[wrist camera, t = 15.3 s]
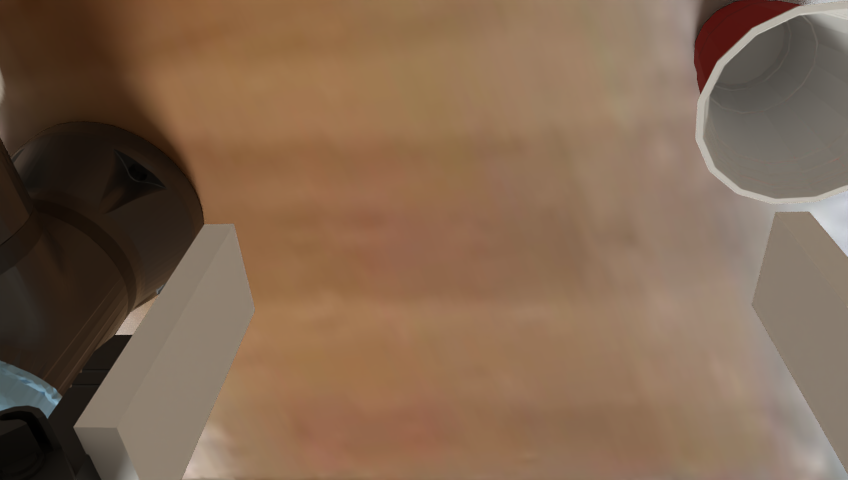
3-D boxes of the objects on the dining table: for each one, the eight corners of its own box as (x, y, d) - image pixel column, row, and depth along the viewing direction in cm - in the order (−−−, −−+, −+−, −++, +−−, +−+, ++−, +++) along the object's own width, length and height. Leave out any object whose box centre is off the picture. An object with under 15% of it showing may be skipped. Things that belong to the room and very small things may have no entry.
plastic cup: (671, -51, 41) (733, -5, 31) (853, -41, 40) (976, 9, 30) (634, 116, 47) (675, 201, 37) (792, 127, 46) (877, 215, 36)
